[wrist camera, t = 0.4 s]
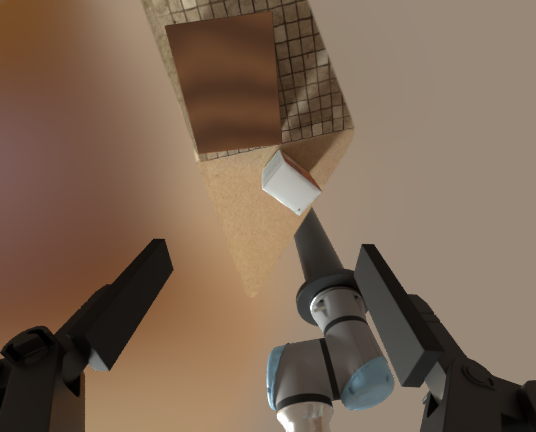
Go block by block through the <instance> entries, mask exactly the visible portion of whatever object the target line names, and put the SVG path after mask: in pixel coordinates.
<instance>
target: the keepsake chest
mask: <svg viewBox="0 0 536 432" xmlns="http://www.w3.org/2000/svg"><path fill="white" fill-rule="evenodd" d="M165 29H166V33H167V37H168V41H169V45H170V48H171V52H172V56H173V60H174V64H175V67H176V71H177V75H178V79H179V83H180V86H181V90H182V94H183V98H184V102H185V105H186V109H187V113H188V117H189V121H190V124H191V128H192V132H193V136H194V139H195V143H196V147H197V151H198V154H205V153H213V152H221V151H229V150H237V149H246V148H254V147H262V146H270V145H278V144H282V130H281V117H280V104H279V91H278V78H277V65H276V52H275V39H274V26H273V13H272V11H267V12H260V13H253V14H245V15H238V16H231V17H224V18H217V19H209V20H202V21H195V22H188V23H181V24H173V25H166V26H165Z"/></svg>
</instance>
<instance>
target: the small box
mask: <svg viewBox="0 0 536 432" xmlns="http://www.w3.org/2000/svg"><path fill="white" fill-rule="evenodd" d="M262 189H263V190H264V191H266V192H267V193H269V194H270V195H272V196H273V197H274V198H276V199H277V200H279V201H280V202H281V203H283V204H284V205H285V206H287V207H288V208H289V209H291V210H292V211H293V212H294V213H296V214H297V215H298V216H299V215H300V214H301V213H302V212H303V211H304V210H305V209H306V208H307V207H308V206H309V205H310V204H311V203H312V202H313V201H314V200H315V199H316V198H317V197H318V196H319V194H320V193H321V192H322V190H321V189H320V188H319V186H318V185H317V183H316V182H315V180H314V179H313V178H312V176H311V175H310V173H308V172H307V171H306V170H305V169H303V168H302V167H301V166H300V165H298V164H297V163H296V162H295V161H294V160H292V159H291V158H290V157H289V156H288V155H287V154H285V153H284V152H283V151H282V150H281V149H279V150H278V151H277V152H276V154H275V155H274V156H273V157H272V159H271V160H270V161H269V162H268V164H267V165H266V166H265V168H264V169H263V170H262Z"/></svg>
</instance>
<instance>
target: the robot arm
mask: <svg viewBox="0 0 536 432" xmlns="http://www.w3.org/2000/svg"><path fill="white" fill-rule="evenodd" d="M172 271H173V266H172V263H171V259H170V256H169V253H168V249H167V246H166V242H165V239H153V240H152V241H151V242H150V243H149V244H148V245H147V246H146V248H145V249H144V250H143V251H142V252H141V253H140V254H139V255H138V256H137V257H136V258H135V259H134V260H133V262H132V263H131V264H130V265H129V266H128V267H127V268H126V269H125V270H124V271H123V272H122V274H121V275H120V276H119V277H118V278H117V279H116V280H115V281H114V282H113V283H112V284H109V285H108V284H106V285H105V286H103V287H102V288H101V289H99V290H98V291H96V292H95V293H94V294H93V295H92V296H91V297H90V298H89V299H88V301H87V302H85V303H84V304H83V305H82V306H81V309H78V311H77V312H76V313H75V314H74V315H73V316H72V317H71V318H70V319H69V320H68V321H67V322H66V323H65V324H64V325H63V326H62V327H61V328H60V329H59V330H58V331H57V332H56V333H55V334H54V335H53V334H52V333H51V331H50V330H49V329H48V328H47V327H45V326H36V327H33V328H30V329H27V330H26V331H23V332H21V333H20V334H18V335H17V336H15V337H14V338H12V339H11V340H10V341H9V342H8V343H7V344H6V345H5V346H4V347H3V349H2V350H1V352H0V353H1V354H2V355H3V356H4V357H5V358H3V359H0V432H85V375H84V372H83V370H84V369H85V367H86V366H87V364H89V365H90V366H91V367H92V369H93V370H99V371H110V370H111V368H112V366H113V365H114V363H115V362H116V360H117V359H118V357H119V355H120V354H121V352H122V351H123V349H124V347H125V346H126V344H127V343H128V341H129V340H130V338H131V336H132V335H133V333H134V332H135V330H136V328H137V327H138V325H139V324H140V322H141V320H142V319H143V317H144V315H145V314H146V313H147V311H148V309H149V308H150V306H151V305H152V303H153V301H154V300H155V298H156V297H157V295H158V294H159V292H160V290H161V289H162V287H163V286H164V284H165V282H166V281H167V279H168V278H169V276H170V274H171V273H172ZM354 277H355V280H356V282H357V284H358V287H359V289H360V291H361V294H362V296H363V298H364V301H365V303H366V305H367V308H368V310H369V312H370V315H371V317H372V319H373V322H374V324H375V326H376V328H377V331H378V333H379V335H380V338H381V340H382V342H383V344H384V347H385V349H386V352H387V354H388V356H389V359H390V361H391V363H392V365H393V368H394V370H395V372H396V375H397V377H398V379H399V382H400V384H401V386H403V387H420V386H421V385H422V384H423V382H424V381H425V382H426V384H427V386H428V387H429V389H430V391H429V392H428V393H427V395H426V396H425V397H424V399H423V400H422V403H423V404H425V403H426V405H425V409H424V414H423V419H422V424H421V429H420V432H536V381H535V380H533V381H527V382H526V383H525V384H524V385H522V386H521V385H518V384H515V383H512V382H510V381H507V380H504V379H501V378H498V377H495V376H493V375H492V374H491V373H490V372H489V371H488V370H487V369H486V368H485V367H483V366H482V365H480V364H479V363H477V362H476V361H474V360H471V359H469V358H467V356H466V355H465V354H464V353H463V351H462V350H461V349H460V347H459V346H458V345H457V343H456V342H455V341H454V339H453V338H452V336H451V335H450V334H449V332H448V331H447V330H446V328H445V327H444V326H443V324H442V323H440V320H439V319H438V318H437V317H436V315H434V312H433V311H432V310H431V308H430V307H429V305H428V304H427V303H426V302H425V301H424V300H423V299H421V298H420V297H419V296H418V295H413V294H407V293H406V292H405V290H404V289H403V287H402V286H401V284H400V283H399V281H398V280H397V279H396V277H395V275H394V274H393V272H392V271H391V269H390V268H389V266H388V265H387V263H386V262H385V260H384V259H383V257H382V256H381V254H380V253H379V251H378V250H377V248H376V247H375V245H374V244H362V245H361V249H360V253H359V257H358V260H357V264H356V268H355V272H354ZM310 309H311V313H312V316H313V318H314V319H315V321H316V322H317V324H318V325H319V327H320V328H321V330H322V331H323V333H324V337H325V338H321V339H314V340H309V341H303V342H297V343H291V344H290V343H287V344H286V345H283V346H279V347H275V348H274V349H273V350H272V351H271V353H270V355H269V359H268V365H267V387H268V400H269V404H270V407H271V408H272V409H274V410H277V419H278V420H279V422H280V423H281V424H282V425H283V426H284V428H285V430H286V432H330V427H329V422H330V420H331V418H332V416H333V413H334V410H333V406H332V402H331V401H334V400H339V399H341V401H342V403H343V404H344V406H345V407H346V408H347V409H350V410H354V409H355V410H363V409H367V408H370V407H373V406H375V405H377V404H379V403H381V402H382V401H384V400H385V399H386V398H387V397H388V396H389V395H390V394H391V393H392V391H393V389H394V378H393V375H392V373H391V370H390V368H389V366H388V362H387V360H386V358H385V357H384V355H383V353H382V351H381V349H380V347H379V345H378V343H377V341H376V339H375V337H374V335H373V334H372V331H371V329H370V327H369V325H368V323H367V321H366V316H365V309H364V302H363V299H362V297H361V295H360V293H359V292H358V290H357V289H355V288H354V287H351V286H348V285H332V286H328V287H326V288H323V289H321V290H320V291H318V292H317V293H316V294H315V295H314V296H313V298H312V299H311V302H310Z"/></svg>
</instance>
